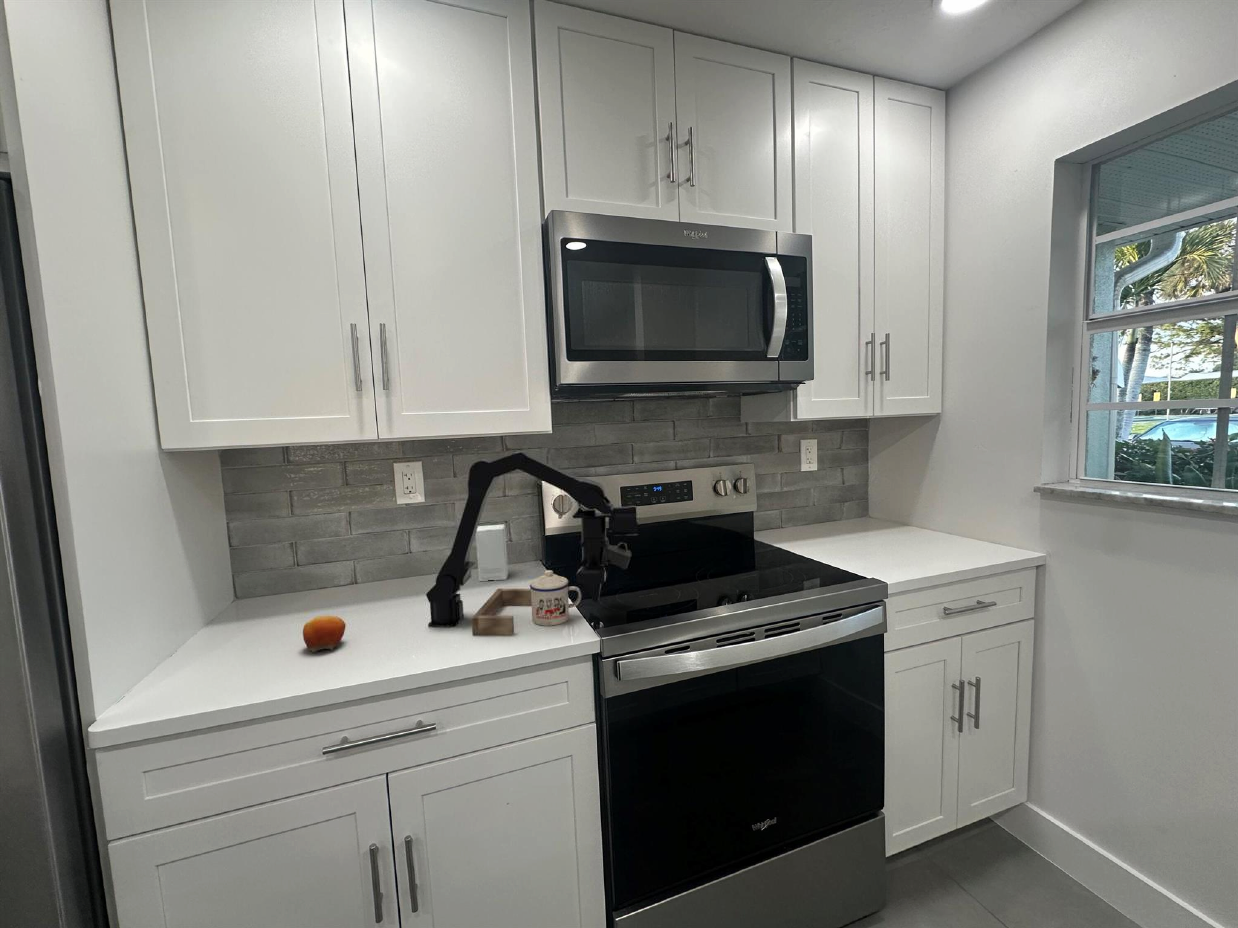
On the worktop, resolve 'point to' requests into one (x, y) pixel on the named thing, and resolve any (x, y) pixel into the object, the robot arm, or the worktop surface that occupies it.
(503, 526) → the skincare box
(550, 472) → the robot arm
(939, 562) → the worktop surface
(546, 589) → the teacup with lid
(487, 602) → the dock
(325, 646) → the fruit
